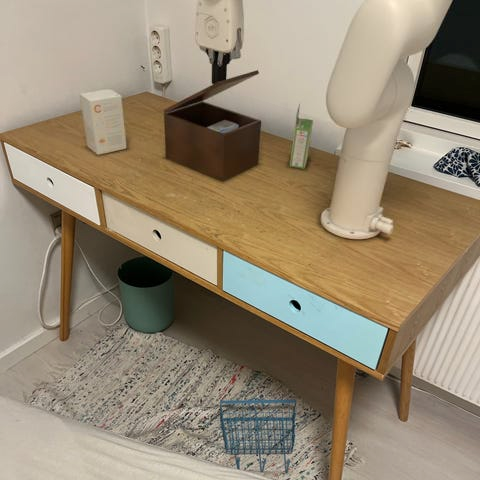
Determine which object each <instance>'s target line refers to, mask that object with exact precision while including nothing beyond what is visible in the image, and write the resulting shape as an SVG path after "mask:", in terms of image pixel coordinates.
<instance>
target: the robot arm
mask: <svg viewBox="0 0 480 480" xmlns="http://www.w3.org/2000/svg"><path fill="white" fill-rule="evenodd" d="M452 2H453V0H365V1H363V2H362V4H361V5H360V6H359V7H358V9H357V10H356V12H355V13H354V15H353V17H352V19H351V21H350V23H349V26H348V28H347V30H346V33H345V36H344V39H343V42H342V45H341V47H340V49H339V53H338V55H337V58H336V61H335V63H334V67H333V69H332V72H331V74H330V77H329V80H328V83H327V87H326V93H325V106H326V110H327V113H328V115H329V118H330V119H331V121H333V122H334V124H336V125H337V126H339V127H342V128H344V129H345V131H344V135H343V139H342V144H341V149H340V154H339V160H338V165H337V170H336V176H335V181H334V186H333V191H332V197H331V202H330V206H329V207H327V208H325V209H324V210H323V211H322V212H321V215H320V222H321V225H322V227H323V228H324V229H326V231H327V232H330V233H331V234H333V235H335V236H337V237H340V238H344V239H351V240H365V239H370V238H374V237H376V236H377V235H379V234H380V233H383V234H386V235H389V236H391V235H392V233H393V232H394V229H395V225H393V224H394V219H391V218H388V217H385V216H384V214H383V211H384V207H382V206H380V205H381V200H382V196H383V193H384V190H385V185H386V181H387V177H388V173H389V169H390V166H391V162H392V158H393V156H394V151H395V147H396V143H397V140H398V136H399V134H400V131H401V128H402V125H403V122H404V120H405V117H406V115H407V113H408V111H409V108H410V105H411V102H412V99H413V96H414V91H415V78H414V73H413V71H412V68H411V66H410V65H409V64H408V62H406V61H405V60H403V59H404V58H408V57H410V56H414V55H417V54H419V53H421V52H423V51H424V50H425V49H426V48H428V47H429V46H430V44H431V43H432V42H433V40H434V39H435V37H436V35H437V33H438V32H439V29H440V27H441V25H442V23H443V21H444V19H445V17H446V15H447V13H448V10H449V9H450V7H451V4H452ZM195 13H196V14H195V30H194V32H195V33H194V38H195V44H197V46H198V47H199V49H200V51H203V52H204V53H206V55H207V57H208V62H209V64H211V85H213V84H215V83H217V82H219V81H223V80H226V79H227V78H228V77H227V74H228V73H227V72H228V65H230V62H231V61H232V60H238V59H241V57H242V52H241V50H242V49H243V46H244V38H245V37H244V34H245V16H244V13H245V12H244V3H243V0H197V4H196V12H195Z"/></svg>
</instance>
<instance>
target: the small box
mask: <svg viewBox="0 0 480 480" xmlns="http://www.w3.org/2000/svg"><path fill="white" fill-rule="evenodd" d="M79 100H80V107H81V108H80V109H81V113H82V114H81V115H82V120H83V126H84V134H85V139H86V145H87V148H89V149H90V150H91V151H92V152H94V153H95V154H96V155H98V156H100V155H105V154H108V153H112V152H113V153H114V152H117V151H122V150H126V149H127V138H126V137H127V136H126V129H125V118H124V110H123V109H124V108H123V99H122V95H120V94H119V93H118V92H116V91H114V90H113V89H111V88H107V89H100V90H94V91H88V92H81V93H79Z"/></svg>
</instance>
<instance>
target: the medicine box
mask: <svg viewBox="0 0 480 480" xmlns="http://www.w3.org/2000/svg"><path fill="white" fill-rule="evenodd" d="M207 128H209V129H212V130H215V131H218V132H220V133H223V134H225V133H227V132H230V131H232V130H235V129H237V128H239V125H238V124H236V123H233V122H230V121H227V120H223V121H221V122H218V123H216V124H213V125H211V126H209V127H207Z"/></svg>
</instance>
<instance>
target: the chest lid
mask: <svg viewBox="0 0 480 480" xmlns="http://www.w3.org/2000/svg"><path fill="white" fill-rule="evenodd" d="M259 74H260V72H259V69H256V70H253V71H249V72H247V73H243V74H240V75H236V76H233V77H229V78H226V80H223V81H219V82H217V83H215V84H211V85H208V86H207V87H205V88H203V89H202V90H199V91H198V92H196V93H193V94H192V95H189V96H188V97H186V98H183V99H181V100H180V101H178V102H176V103H174V104H171V105H170V106H168V107H166V108H164V109H163V114H165V113H168V112H171V111H174V110H177V109H180V108H183V107H186V106H189V105H193V104H196V103H199V102H202V101H203V102H205V101H206V100H208V99H210V98H212V97H214V96H217V95H218V94H220V93H223V92H225V91H227V90H228V89H229V90H230V89H231V88H233V87H235V86H237V85H239V84H241V83H243V82H245V81H247V80H249V79H251V78H253V77H255V76H258V75H259Z"/></svg>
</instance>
